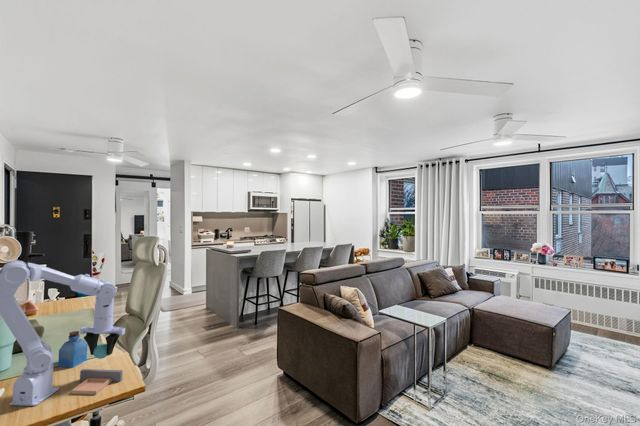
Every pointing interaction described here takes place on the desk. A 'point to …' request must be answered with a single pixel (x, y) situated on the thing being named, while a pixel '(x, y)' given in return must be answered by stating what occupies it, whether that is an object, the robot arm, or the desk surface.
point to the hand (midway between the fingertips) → (101, 354)
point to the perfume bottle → (73, 351)
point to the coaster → (91, 386)
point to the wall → (101, 374)
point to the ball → (100, 351)
